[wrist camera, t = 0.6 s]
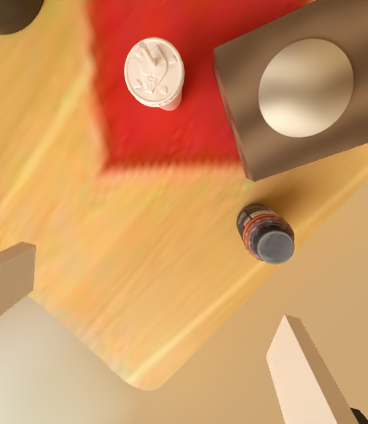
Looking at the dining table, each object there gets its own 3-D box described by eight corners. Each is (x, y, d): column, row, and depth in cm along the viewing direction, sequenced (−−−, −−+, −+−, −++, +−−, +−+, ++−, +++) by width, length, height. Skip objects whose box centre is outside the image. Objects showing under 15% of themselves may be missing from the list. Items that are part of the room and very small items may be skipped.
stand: (212, 69, 31) (213, 46, 25) (333, 15, 28) (368, -26, 22) (246, 177, 34) (254, 181, 28) (358, 138, 31) (396, 133, 25)
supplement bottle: (271, 240, 36) (299, 276, 25) (233, 237, 36) (244, 270, 25) (277, 204, 34) (309, 225, 23) (238, 201, 35) (251, 220, 24)
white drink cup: (195, 77, 32) (185, 15, 18) (185, 124, 33) (169, 100, 20) (152, 68, 32) (110, 0, 18) (144, 115, 33) (100, 85, 20)
